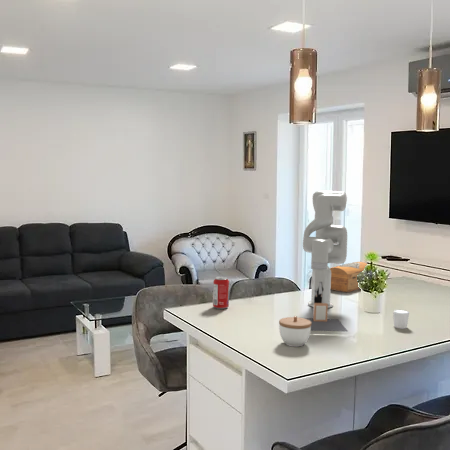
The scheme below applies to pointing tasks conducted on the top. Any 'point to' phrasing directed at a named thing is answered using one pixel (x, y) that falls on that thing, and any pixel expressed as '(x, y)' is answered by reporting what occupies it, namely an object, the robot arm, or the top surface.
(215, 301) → the soda can
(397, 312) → the white cup
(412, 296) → the top surface
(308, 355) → the top surface
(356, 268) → the wooden box
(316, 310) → the picture frame
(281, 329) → the lidded bowl
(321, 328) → the charcoal mat
